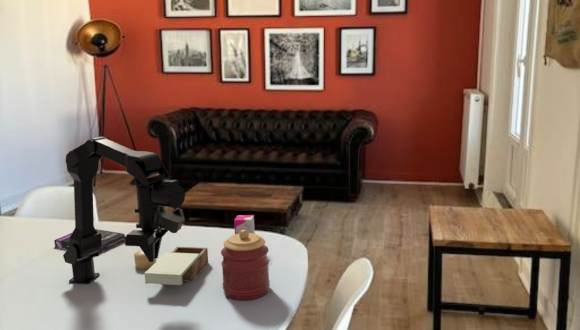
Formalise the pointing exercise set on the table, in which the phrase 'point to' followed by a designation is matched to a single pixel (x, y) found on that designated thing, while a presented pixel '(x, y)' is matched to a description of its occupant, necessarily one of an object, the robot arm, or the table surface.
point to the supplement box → (244, 223)
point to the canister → (245, 266)
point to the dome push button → (142, 261)
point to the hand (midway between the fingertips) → (153, 260)
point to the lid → (170, 268)
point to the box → (107, 240)
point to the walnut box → (197, 265)
